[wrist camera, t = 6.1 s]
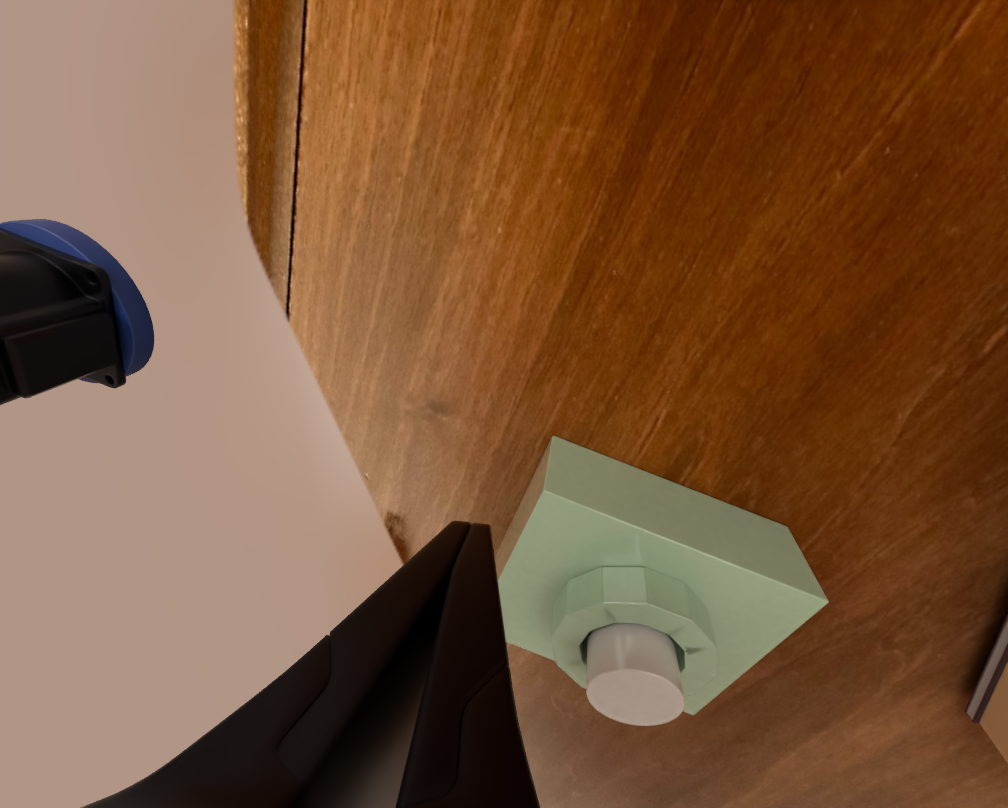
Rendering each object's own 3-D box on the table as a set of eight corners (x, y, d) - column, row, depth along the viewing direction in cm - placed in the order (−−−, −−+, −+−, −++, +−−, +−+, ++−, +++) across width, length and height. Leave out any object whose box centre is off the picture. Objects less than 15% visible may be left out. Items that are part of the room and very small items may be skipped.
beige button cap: (573, 654, 19) (571, 704, 17) (609, 608, 17) (610, 658, 15) (649, 684, 19) (655, 737, 17) (693, 640, 17) (704, 694, 15)
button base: (490, 564, 25) (463, 665, 20) (552, 434, 20) (538, 522, 15) (679, 638, 25) (701, 758, 20) (788, 526, 20) (855, 646, 15)
